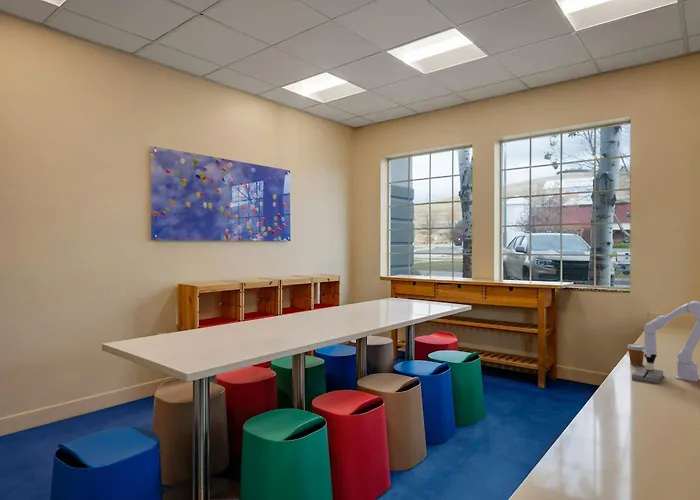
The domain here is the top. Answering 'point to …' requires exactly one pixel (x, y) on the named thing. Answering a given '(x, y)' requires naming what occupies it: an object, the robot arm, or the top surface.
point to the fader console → (647, 375)
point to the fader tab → (649, 366)
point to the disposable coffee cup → (636, 354)
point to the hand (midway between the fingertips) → (650, 366)
